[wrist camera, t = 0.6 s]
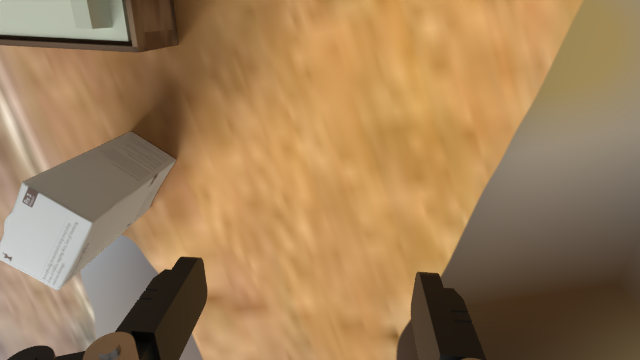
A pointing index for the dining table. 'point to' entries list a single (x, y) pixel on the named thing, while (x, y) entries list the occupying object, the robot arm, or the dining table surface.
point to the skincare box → (81, 207)
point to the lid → (66, 19)
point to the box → (146, 33)
